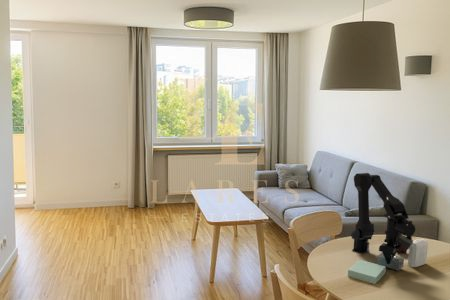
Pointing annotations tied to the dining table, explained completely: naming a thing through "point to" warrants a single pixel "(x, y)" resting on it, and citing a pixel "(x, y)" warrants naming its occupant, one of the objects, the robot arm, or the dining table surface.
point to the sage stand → (367, 271)
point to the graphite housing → (391, 262)
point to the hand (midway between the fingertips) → (390, 261)
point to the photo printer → (418, 253)
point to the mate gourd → (402, 250)
